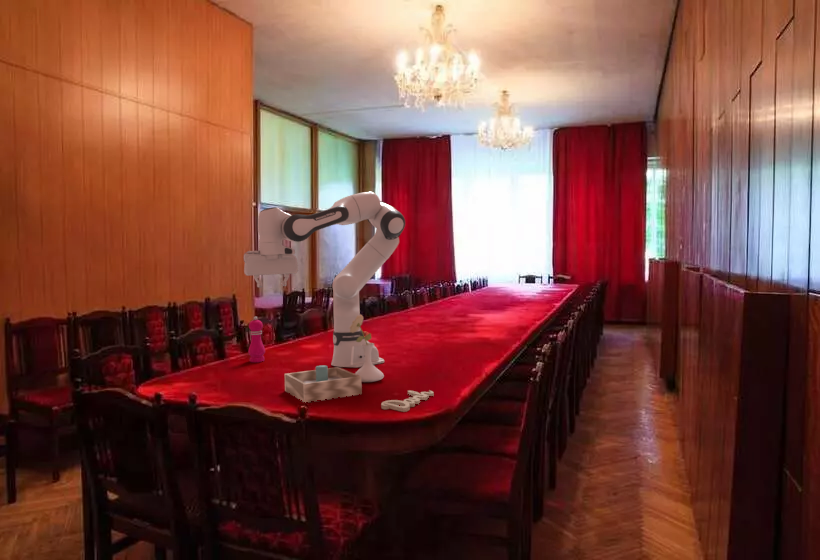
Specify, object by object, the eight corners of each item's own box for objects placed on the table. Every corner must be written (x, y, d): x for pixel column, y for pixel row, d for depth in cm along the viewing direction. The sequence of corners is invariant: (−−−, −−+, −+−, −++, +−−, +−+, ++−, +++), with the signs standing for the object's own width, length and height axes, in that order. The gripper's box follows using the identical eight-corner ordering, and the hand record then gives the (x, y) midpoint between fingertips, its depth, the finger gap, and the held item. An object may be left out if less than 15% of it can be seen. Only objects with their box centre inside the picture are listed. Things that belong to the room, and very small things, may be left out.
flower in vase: (370, 376, 233) (368, 311, 232) (390, 380, 225) (388, 312, 224) (343, 382, 224) (341, 314, 223) (363, 386, 216) (361, 316, 215)
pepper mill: (261, 362, 268) (259, 317, 267) (245, 362, 269) (244, 317, 268) (268, 359, 275) (266, 315, 274) (253, 359, 277) (251, 315, 276)
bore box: (338, 383, 223) (337, 367, 222) (361, 394, 205) (361, 376, 205) (285, 391, 213) (284, 373, 212) (304, 402, 195) (304, 384, 195)
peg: (325, 390, 212) (324, 364, 211) (330, 392, 208) (329, 366, 208) (315, 392, 210) (313, 366, 209) (319, 394, 206) (318, 368, 206)
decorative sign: (405, 408, 182) (376, 404, 186) (405, 413, 182) (376, 410, 186) (438, 391, 202) (411, 388, 207) (438, 396, 202) (411, 393, 207)
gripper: (245, 250, 225) (246, 288, 226) (298, 249, 235) (300, 285, 236) (241, 251, 231) (242, 287, 231) (293, 249, 241) (294, 284, 241)
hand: (272, 286), depth 234 cm, fingers open, 8 cm apart
